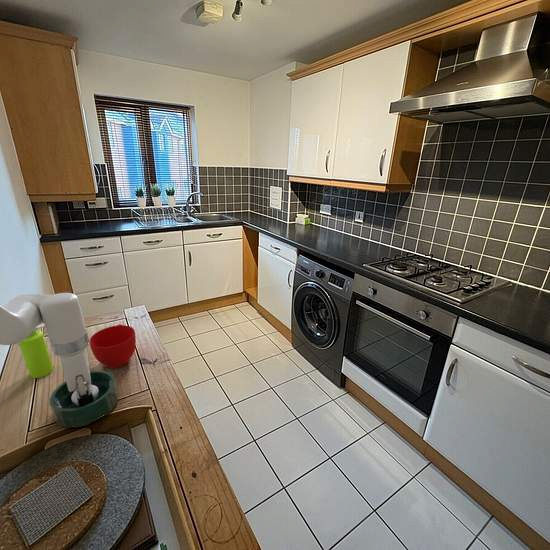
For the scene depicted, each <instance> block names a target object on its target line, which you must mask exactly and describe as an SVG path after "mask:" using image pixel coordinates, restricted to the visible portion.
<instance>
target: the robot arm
mask: <svg viewBox="0 0 550 550" xmlns="http://www.w3.org/2000/svg"><path fill="white" fill-rule="evenodd" d="M42 324H44V325H43V326H44V328H45V330H46V334H47V337H48V340H49V344H50V347H51V351H52V353H53V355H54V356H55V357H59V359H60V360H59V361H60V364H61V368H62V372H63V375H64V378H65V381H66V382H67V386H68V390H69V392H72V391H75V389H76V392H77V396H78V397H77V400H78V403H79V406H80V407H82V406H85V405H88V404H90V403H92V402H94V399H93V395H92V392H90V388H89V385H90V384H91V377H90V371H91V370H90V364H89V359H88V354H87V350H86V349H88V347H90V342H89V340H90V338H89V335H88V331H87V327H86V324H85V319H84V314H83V310H82V308H81V304H80V300H79V297H78V296H77V295H76V294H74V293H72V292H58V293H55V294H45V293H43V294H42V293H22V294H19V295H17V296H15V297H14V298H12V299H11V300H10V301H9V302H7V303H6V304H5V305H3V306H2V305H0V345H1V346H13V345H17V344H19V343H20V342H21V341H23V340H25V339H26V338H27V337H28V336H29V335H30V334H31V333H32V332H33V330H34V329H35V328H36V329H37V327H39V326H41V325H42ZM84 382H86V383H85V384H84ZM85 387H87V390H86V389H85ZM79 391H80V392H79Z"/></svg>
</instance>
